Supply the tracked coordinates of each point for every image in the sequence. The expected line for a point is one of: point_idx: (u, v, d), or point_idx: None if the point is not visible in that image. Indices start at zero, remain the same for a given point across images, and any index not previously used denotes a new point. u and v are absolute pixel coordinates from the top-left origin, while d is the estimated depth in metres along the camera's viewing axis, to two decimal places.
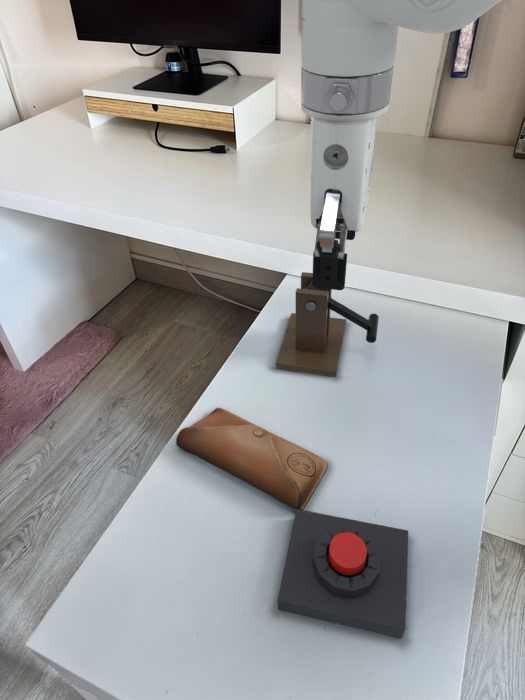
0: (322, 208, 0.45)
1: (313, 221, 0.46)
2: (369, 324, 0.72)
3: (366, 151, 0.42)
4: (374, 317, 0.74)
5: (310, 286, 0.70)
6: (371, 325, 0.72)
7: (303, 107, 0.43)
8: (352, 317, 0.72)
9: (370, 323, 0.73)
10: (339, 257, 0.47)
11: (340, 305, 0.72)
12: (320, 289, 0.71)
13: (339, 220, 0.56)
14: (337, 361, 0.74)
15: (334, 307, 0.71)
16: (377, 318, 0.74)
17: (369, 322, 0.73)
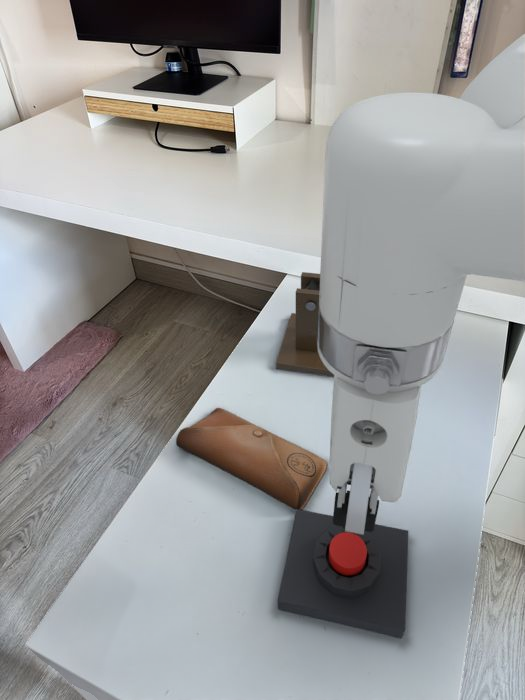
0: (346, 479, 0.32)
1: (333, 485, 0.33)
2: None
3: (413, 427, 0.29)
4: None
5: (310, 286, 0.70)
6: None
7: (321, 354, 0.30)
8: None
9: None
10: (369, 513, 0.36)
11: None
12: None
13: None
14: None
15: None
16: None
17: None
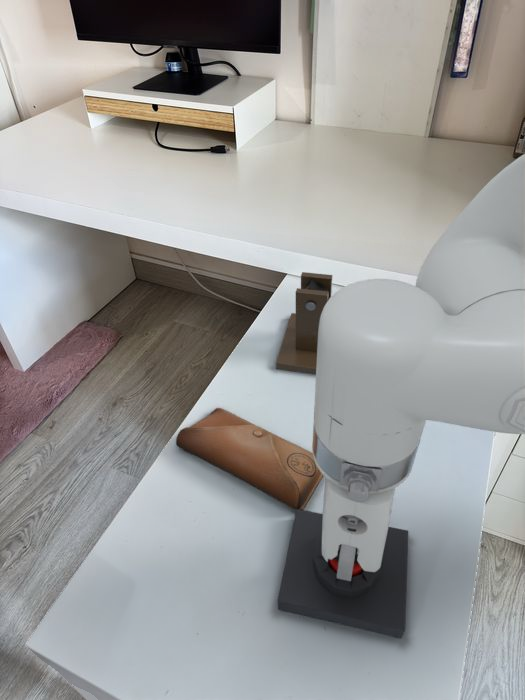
0: (335, 554, 0.39)
1: (324, 557, 0.41)
2: None
3: (388, 520, 0.36)
4: None
5: (310, 286, 0.70)
6: None
7: (315, 458, 0.37)
8: None
9: None
10: None
11: None
12: (320, 289, 0.71)
13: None
14: None
15: None
16: None
17: None
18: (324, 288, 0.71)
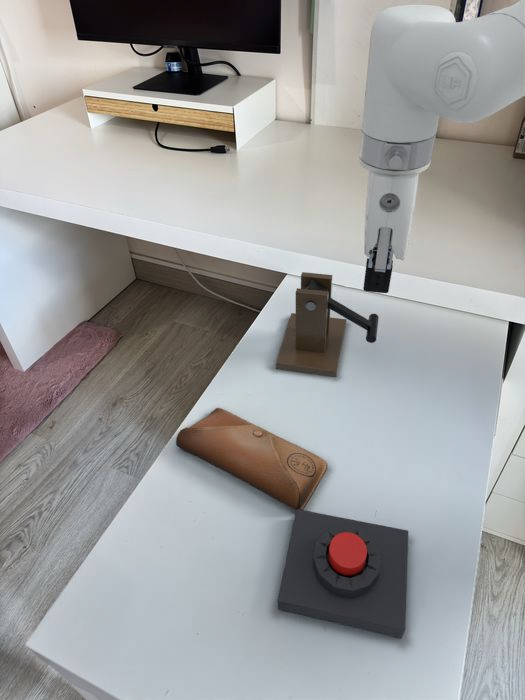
0: (375, 242, 0.56)
1: (366, 251, 0.57)
2: (369, 324, 0.72)
3: (414, 198, 0.52)
4: (374, 317, 0.74)
5: (310, 286, 0.70)
6: (371, 325, 0.72)
7: (362, 162, 0.53)
8: (352, 317, 0.72)
9: (370, 323, 0.73)
10: (387, 269, 0.62)
11: (340, 305, 0.72)
12: (320, 289, 0.71)
13: None
14: (337, 361, 0.74)
15: (334, 307, 0.71)
16: (377, 318, 0.74)
17: (369, 322, 0.73)
18: (324, 288, 0.71)
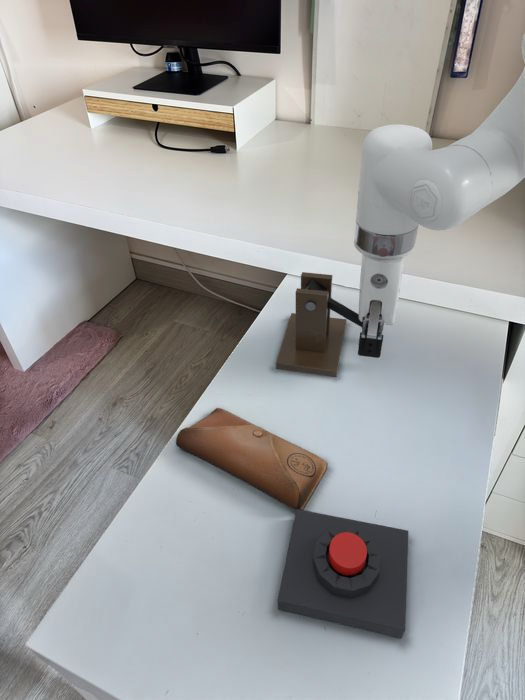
0: (367, 311, 0.65)
1: (360, 318, 0.66)
2: None
3: (400, 277, 0.62)
4: None
5: (310, 286, 0.70)
6: None
7: (356, 245, 0.63)
8: (352, 317, 0.72)
9: None
10: (378, 339, 0.69)
11: (340, 305, 0.72)
12: (320, 289, 0.71)
13: None
14: (337, 361, 0.74)
15: (334, 307, 0.71)
16: None
17: None
18: (324, 288, 0.71)
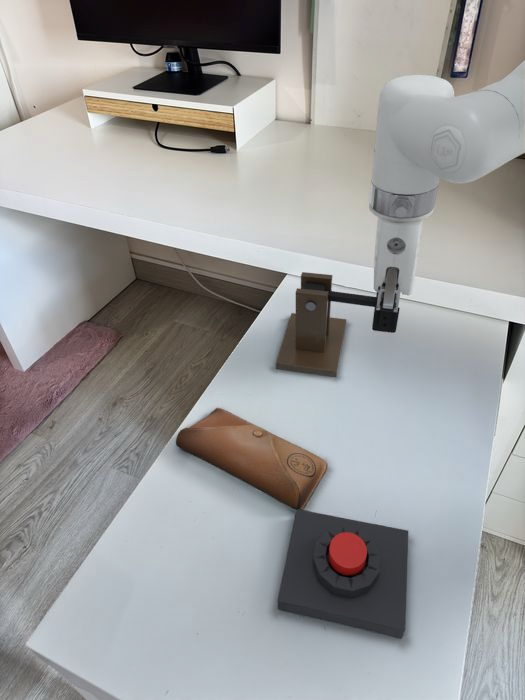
0: (383, 279, 0.61)
1: (375, 287, 0.63)
2: None
3: (418, 242, 0.58)
4: None
5: (305, 288, 0.70)
6: None
7: (371, 209, 0.59)
8: (359, 300, 0.70)
9: None
10: (394, 312, 0.65)
11: (343, 294, 0.70)
12: (316, 287, 0.71)
13: None
14: (337, 361, 0.74)
15: (337, 298, 0.70)
16: None
17: None
18: (321, 284, 0.71)
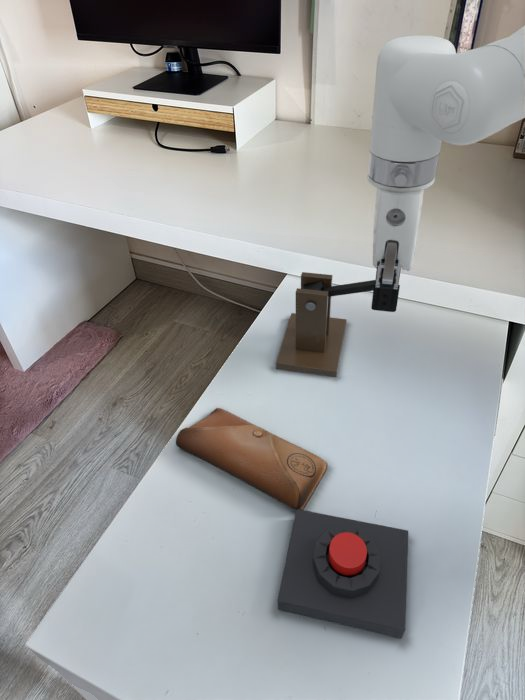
0: (383, 253, 0.59)
1: (374, 263, 0.60)
2: None
3: (419, 213, 0.56)
4: None
5: None
6: None
7: (370, 179, 0.57)
8: (357, 288, 0.68)
9: None
10: (394, 289, 0.63)
11: (341, 286, 0.70)
12: (314, 286, 0.71)
13: None
14: (337, 361, 0.74)
15: (336, 291, 0.70)
16: None
17: None
18: (318, 283, 0.71)
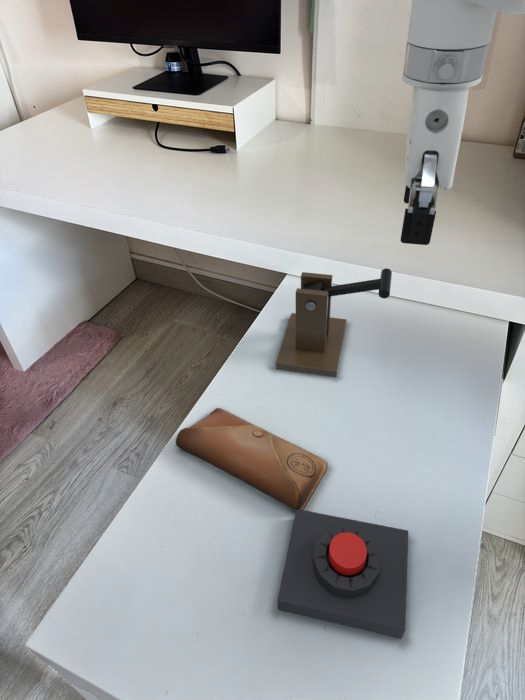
0: (419, 168, 0.51)
1: (408, 181, 0.53)
2: (378, 282, 0.67)
3: (464, 116, 0.48)
4: (383, 272, 0.68)
5: None
6: (380, 281, 0.67)
7: (407, 78, 0.49)
8: (357, 287, 0.68)
9: (379, 281, 0.67)
10: (431, 213, 0.53)
11: (341, 286, 0.70)
12: (313, 286, 0.71)
13: None
14: (337, 361, 0.74)
15: (336, 291, 0.70)
16: (387, 271, 0.68)
17: (377, 280, 0.68)
18: (318, 283, 0.71)
